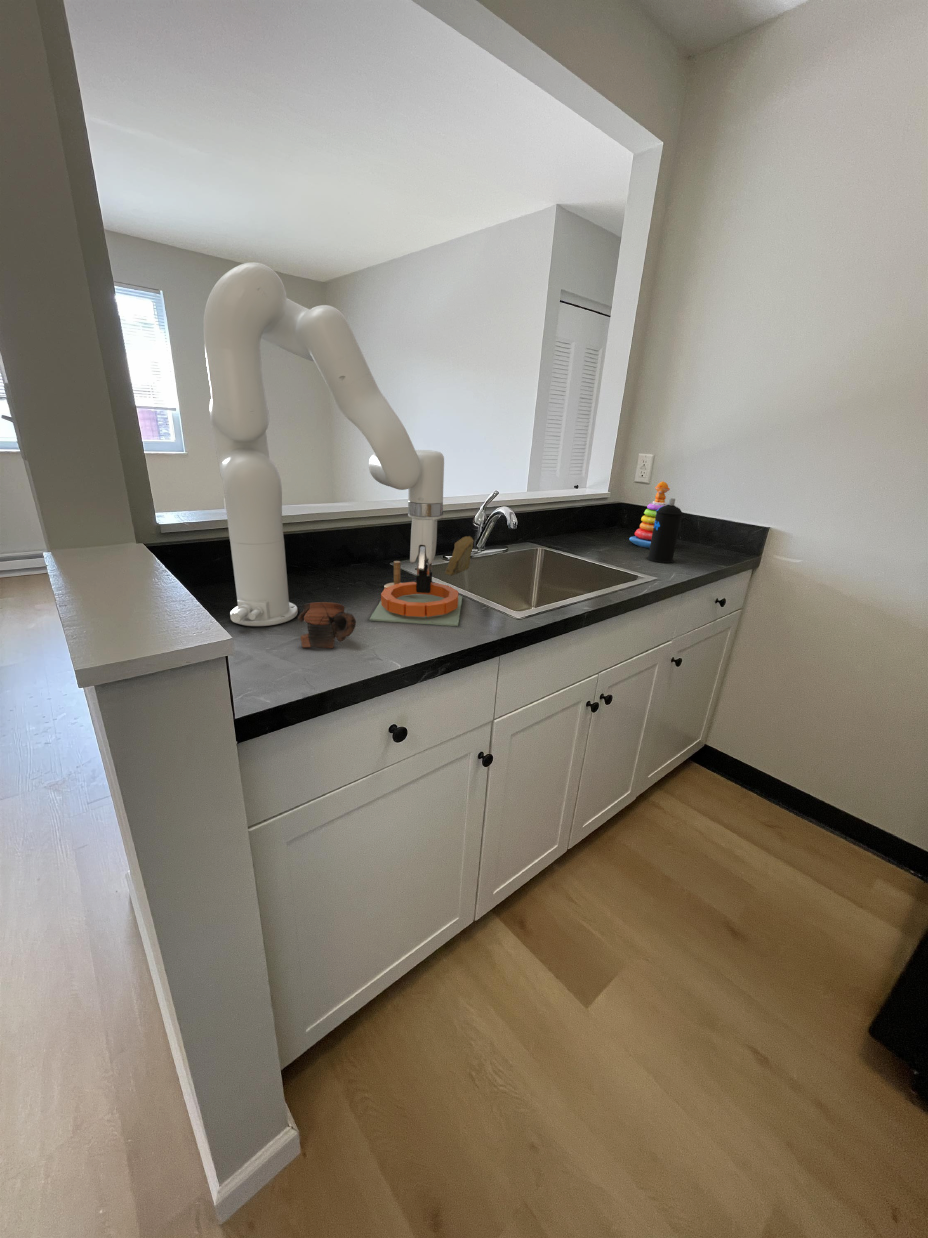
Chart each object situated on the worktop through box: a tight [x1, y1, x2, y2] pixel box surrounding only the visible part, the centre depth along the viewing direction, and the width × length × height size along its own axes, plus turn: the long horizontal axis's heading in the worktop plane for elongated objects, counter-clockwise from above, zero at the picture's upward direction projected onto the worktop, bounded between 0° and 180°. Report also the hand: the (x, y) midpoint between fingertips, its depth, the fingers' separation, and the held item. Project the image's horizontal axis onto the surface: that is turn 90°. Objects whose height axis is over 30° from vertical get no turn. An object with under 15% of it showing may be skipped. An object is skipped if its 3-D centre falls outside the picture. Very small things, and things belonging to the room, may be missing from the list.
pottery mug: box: [297, 601, 357, 649], centre depth 89 cm, size 12×10×8 cm
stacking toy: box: [628, 480, 670, 549], centre depth 181 cm, size 14×13×23 cm
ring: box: [380, 581, 460, 617], centre depth 108 cm, size 16×16×2 cm
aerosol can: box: [646, 497, 684, 564], centre depth 160 cm, size 8×8×20 cm
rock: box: [444, 535, 475, 576], centre depth 137 cm, size 11×9×10 cm
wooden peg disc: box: [384, 560, 402, 589], centre depth 119 cm, size 6×6×7 cm
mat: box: [369, 594, 463, 627], centre depth 108 cm, size 18×18×1 cm
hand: (424, 589), depth 114 cm, fingers closed on ring, 2 cm apart
